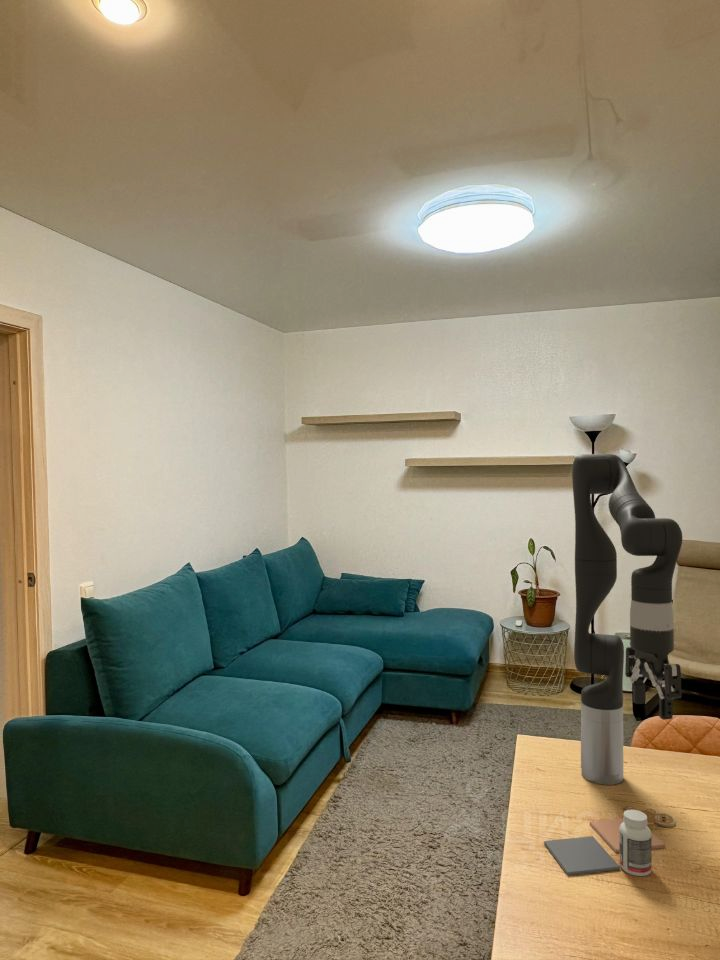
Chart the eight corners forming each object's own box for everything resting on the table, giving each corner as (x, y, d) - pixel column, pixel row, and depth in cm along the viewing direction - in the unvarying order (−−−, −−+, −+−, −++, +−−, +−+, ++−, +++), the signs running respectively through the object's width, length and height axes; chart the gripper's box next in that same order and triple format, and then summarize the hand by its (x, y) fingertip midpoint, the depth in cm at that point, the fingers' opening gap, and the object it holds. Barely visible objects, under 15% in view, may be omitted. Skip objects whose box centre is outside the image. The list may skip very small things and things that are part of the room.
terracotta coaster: (589, 824, 136) (589, 821, 136) (635, 819, 137) (635, 817, 137) (615, 852, 126) (615, 849, 126) (664, 847, 127) (664, 844, 127)
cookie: (623, 801, 143) (674, 810, 139) (623, 806, 143) (675, 814, 139) (622, 821, 136) (676, 830, 132) (622, 825, 136) (677, 835, 132)
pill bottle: (657, 870, 120) (657, 816, 120) (639, 881, 117) (639, 826, 117) (631, 856, 125) (630, 804, 124) (613, 865, 122) (612, 812, 121)
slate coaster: (544, 844, 129) (544, 841, 129) (592, 839, 130) (592, 836, 130) (567, 875, 119) (567, 872, 119) (619, 869, 120) (619, 866, 120)
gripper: (694, 632, 119) (694, 723, 119) (648, 616, 133) (648, 697, 133) (655, 634, 118) (656, 726, 118) (613, 617, 132) (613, 699, 132)
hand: (652, 710), depth 125 cm, fingers open, 8 cm apart
